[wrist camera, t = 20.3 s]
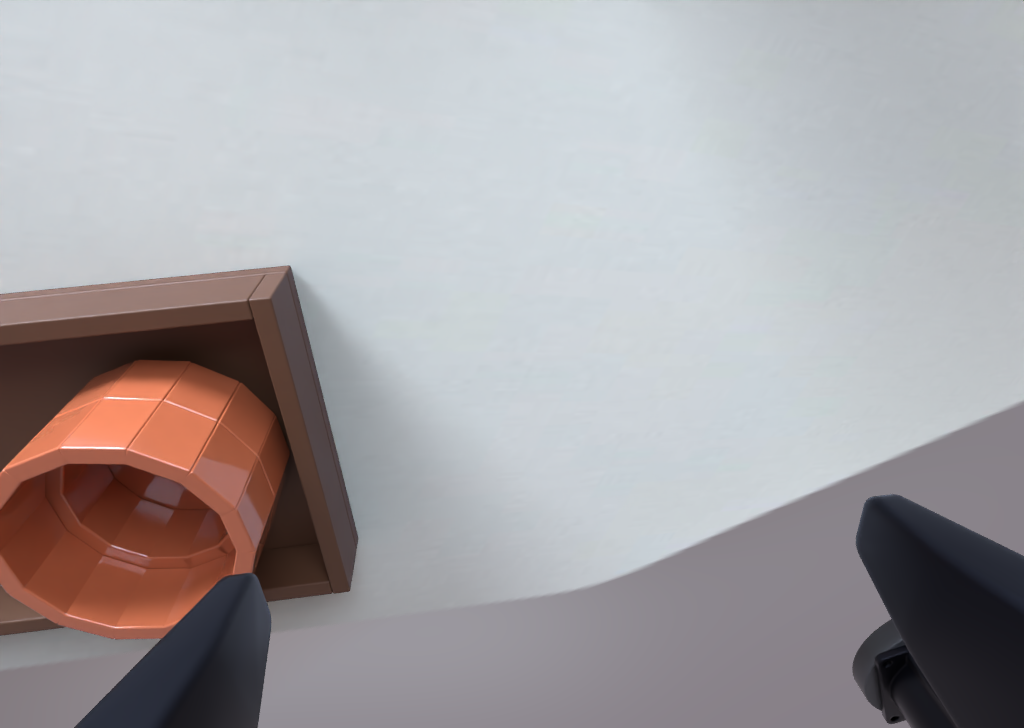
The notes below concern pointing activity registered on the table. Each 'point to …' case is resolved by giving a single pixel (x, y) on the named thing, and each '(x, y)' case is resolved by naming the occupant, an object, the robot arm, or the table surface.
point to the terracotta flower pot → (140, 498)
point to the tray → (209, 343)
